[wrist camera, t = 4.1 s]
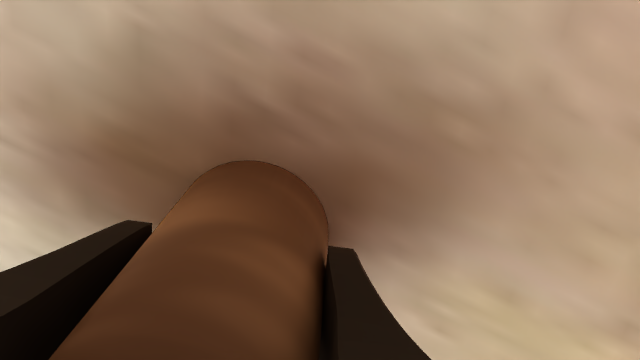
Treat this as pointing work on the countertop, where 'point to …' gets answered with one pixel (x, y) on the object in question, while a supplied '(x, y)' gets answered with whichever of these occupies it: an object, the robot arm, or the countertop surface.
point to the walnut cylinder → (218, 277)
